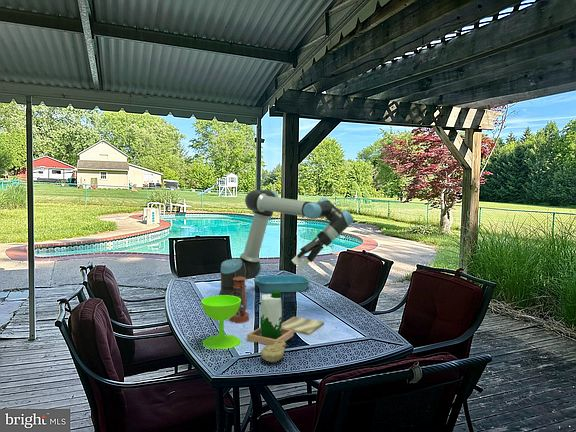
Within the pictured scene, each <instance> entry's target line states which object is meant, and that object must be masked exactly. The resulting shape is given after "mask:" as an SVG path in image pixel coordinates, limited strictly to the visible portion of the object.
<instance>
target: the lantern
mask: <svg viewBox="0 0 576 432" xmlns="http://www.w3.org/2000/svg"><path fill="white" fill-rule="evenodd" d="M238 261H239V260H238ZM235 263H236V262H235ZM243 264H244V263H243ZM245 274H246V269H245ZM233 280H235V281H234V286H233V288H234V291H233V292H234V296H237V292H239V291H237V288H242V293H241V292H240V293H241V294H242V295H241V296H243V304H241V305H240V307H239V310H238V312H237V313H236V314H235V315H234V316H233V317H231V318H230V319H229V322H230V321H232V322H231V323H233V322H235V323H234V324H243V323H248V322H249V321H250V317H249V316H250V314H249V312H247V306H248V305H247V304H248V303H247V298H246V295H247V294H248V292H246V288H247V286H246V281H247V280H246V278H245V277H242V276H240V277H236V275H235V278H233ZM233 292H232V293H233ZM232 295H233V294H232ZM239 297H240V296H239ZM241 300H242V299H241Z"/></svg>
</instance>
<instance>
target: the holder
mask: <svg viewBox="0 0 576 432" xmlns="http://www.w3.org/2000/svg"><path fill="white" fill-rule="evenodd" d="M294 335H295V332H294V330H291V329H286V328H281V335H280V337H279V338H278V339H276V340H275V339H271V338H266V337H262V334H261V327H258V328H256V329H255V330H252V331H251V332H249V333H247V334H246V339H247V341H248V340H250V341H249V342H252V341H254V342H253V343H257V342H258V344H261V343H262V345H265V344H266V345H265V346H267V345H274V344H273V343H274V342H277V341H284V342H285V343H286V342H287V341H288V340H289V339H291V338H293V337H294Z"/></svg>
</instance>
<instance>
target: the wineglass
mask: <svg viewBox="0 0 576 432" xmlns="http://www.w3.org/2000/svg"><path fill="white" fill-rule="evenodd" d="M200 302H201V307H202V310H203V312H204V314H206V316H207V317H208V318H210V319H212V320H214V321H218V334H216V335H212V336H208V337H206V338H205V339H204V340H203V341H202V342H203V345H204V346H205V347H207V348H211V349H228V348H232V347H236V346H238V345H239V344H240V343H241V344H242V341H241V339H240V338H239V337H237V336H235V335H231V334H225V331H224V330H225V326H224V325H225V324H224V323H225V321H227V320H230V318H231V317H233V316H234V315H235V314H236V313H237V312H238V310H239V307H240V305H241V306H242V304H241V299H240V298H239V297H236V296H230V295H219V294H218V295H217V294H216V295H211V296H207V297H204V298H202V300H201V301H200Z"/></svg>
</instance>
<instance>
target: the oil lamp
mask: <svg viewBox="0 0 576 432" xmlns="http://www.w3.org/2000/svg"><path fill="white" fill-rule="evenodd" d="M273 344H274V345H265V346H264V347H263V348H262V349H261V350H260V357H262V359H264V360H265V361H266V362H267V361H269V362H276V361H278V362H279V361H280V360H281V359H282V358H283V357H284V354H285V350H286V346H287V343H286V341H285V342H284V341H277V342H274V343H273ZM269 362H268V363H269ZM276 363H277V362H276Z"/></svg>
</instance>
